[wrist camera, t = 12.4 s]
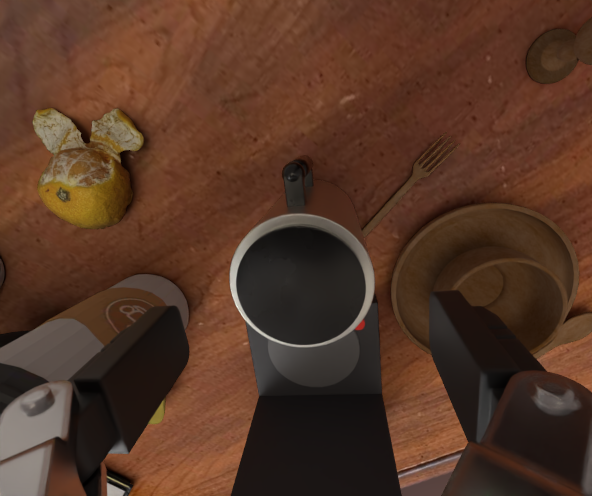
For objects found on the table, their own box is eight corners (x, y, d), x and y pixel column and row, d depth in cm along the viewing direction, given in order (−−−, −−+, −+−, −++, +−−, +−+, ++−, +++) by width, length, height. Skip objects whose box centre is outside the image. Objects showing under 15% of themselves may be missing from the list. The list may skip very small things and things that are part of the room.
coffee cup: (223, 313, 27) (104, 503, 13) (161, 365, 29) (2, 575, 15) (148, 238, 26) (-79, 361, 12) (88, 300, 28) (-160, 464, 14)
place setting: (323, 264, 25) (320, 300, 19) (548, 11, 19) (639, -43, 13) (491, 394, 27) (532, 461, 21) (744, 204, 21) (896, 228, 15)
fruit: (144, 110, 23) (110, 104, 19) (157, 227, 25) (130, 241, 22) (33, 108, 24) (-19, 103, 20) (57, 222, 26) (15, 235, 23)
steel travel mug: (264, 158, 23) (204, 175, 12) (352, 148, 22) (370, 156, 11) (279, 263, 25) (239, 356, 14) (358, 257, 24) (379, 351, 14)
